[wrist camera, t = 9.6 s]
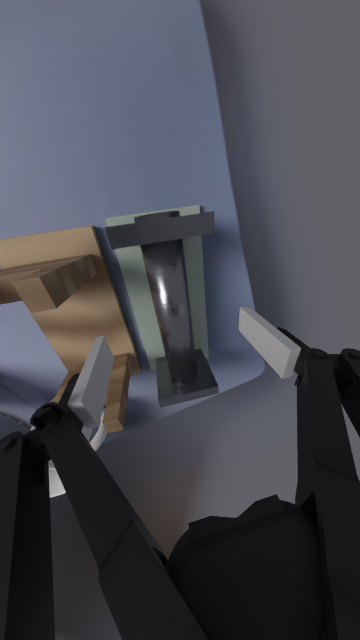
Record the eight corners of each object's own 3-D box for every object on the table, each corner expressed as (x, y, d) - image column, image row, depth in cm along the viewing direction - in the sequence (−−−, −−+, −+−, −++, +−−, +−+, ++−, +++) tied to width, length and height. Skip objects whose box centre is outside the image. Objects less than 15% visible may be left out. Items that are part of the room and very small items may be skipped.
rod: (118, 222, 18) (102, 218, 11) (189, 212, 18) (213, 202, 12) (157, 367, 28) (161, 409, 21) (201, 357, 29) (218, 395, 22)
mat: (106, 218, 18) (105, 218, 17) (197, 205, 19) (199, 204, 18) (151, 368, 29) (151, 370, 28) (207, 355, 29) (208, 357, 29)
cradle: (-8, 241, 17) (-205, 257, 7) (93, 226, 18) (32, 223, 8) (80, 381, 27) (45, 463, 18) (141, 368, 28) (139, 439, 19)
